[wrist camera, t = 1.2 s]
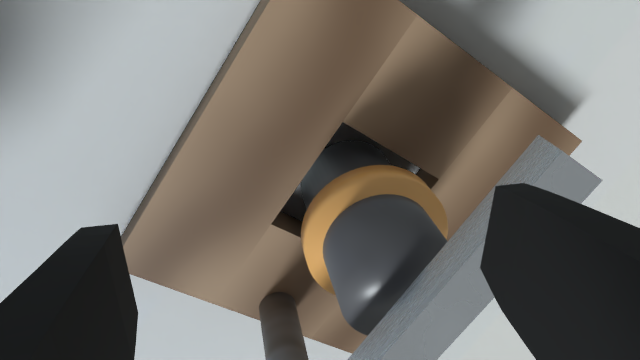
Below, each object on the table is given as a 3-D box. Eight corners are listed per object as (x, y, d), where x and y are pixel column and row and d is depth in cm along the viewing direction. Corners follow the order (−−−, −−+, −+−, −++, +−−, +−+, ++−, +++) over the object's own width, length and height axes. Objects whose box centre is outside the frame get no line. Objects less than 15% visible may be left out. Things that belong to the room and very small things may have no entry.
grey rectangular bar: (311, 469, 17) (318, 504, 16) (251, 455, 16) (254, 492, 15) (583, 167, 13) (614, 188, 12) (526, 125, 12) (554, 145, 11)
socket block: (116, 244, 21) (75, 400, 14) (301, -70, 17) (366, -56, 10) (375, 342, 26) (432, 485, 20) (560, 127, 22) (708, 218, 16)
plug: (263, 205, 21) (286, 323, 15) (332, 104, 20) (389, 189, 14) (359, 250, 23) (412, 369, 17) (428, 162, 22) (513, 258, 16)
